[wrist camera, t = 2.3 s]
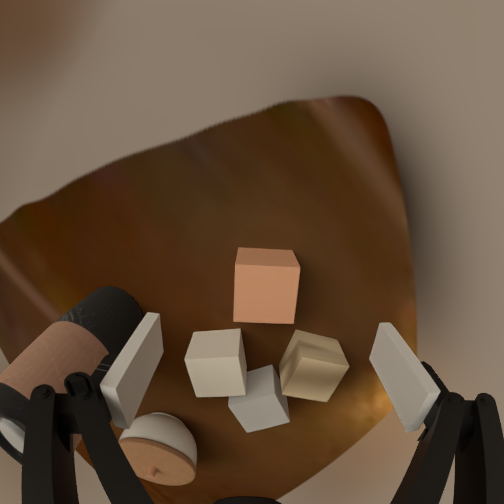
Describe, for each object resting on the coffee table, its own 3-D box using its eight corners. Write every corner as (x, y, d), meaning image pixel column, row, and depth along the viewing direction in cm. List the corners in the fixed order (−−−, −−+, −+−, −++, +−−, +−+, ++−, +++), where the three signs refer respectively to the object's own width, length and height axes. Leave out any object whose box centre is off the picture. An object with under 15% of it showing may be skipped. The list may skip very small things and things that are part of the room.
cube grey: (286, 392, 32) (289, 421, 27) (247, 403, 33) (247, 432, 28) (272, 363, 31) (274, 393, 26) (231, 376, 31) (228, 405, 26)
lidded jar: (145, 388, 32) (121, 441, 23) (216, 424, 34) (209, 480, 25) (121, 423, 35) (101, 468, 26) (183, 454, 36) (173, 500, 27)
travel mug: (93, 338, 30) (3, 455, 11) (82, 279, 28) (-43, 384, 9) (149, 348, 30) (77, 494, 11) (143, 287, 28) (29, 430, 9)
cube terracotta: (287, 298, 29) (293, 323, 24) (236, 296, 28) (233, 321, 24) (292, 250, 27) (300, 267, 22) (238, 247, 27) (235, 264, 22)
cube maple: (318, 373, 31) (326, 402, 26) (278, 364, 31) (282, 394, 26) (337, 339, 30) (349, 366, 25) (295, 328, 29) (302, 356, 25)
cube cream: (246, 365, 31) (245, 395, 26) (203, 367, 31) (196, 397, 26) (240, 328, 29) (238, 356, 25) (193, 331, 30) (184, 359, 25)
